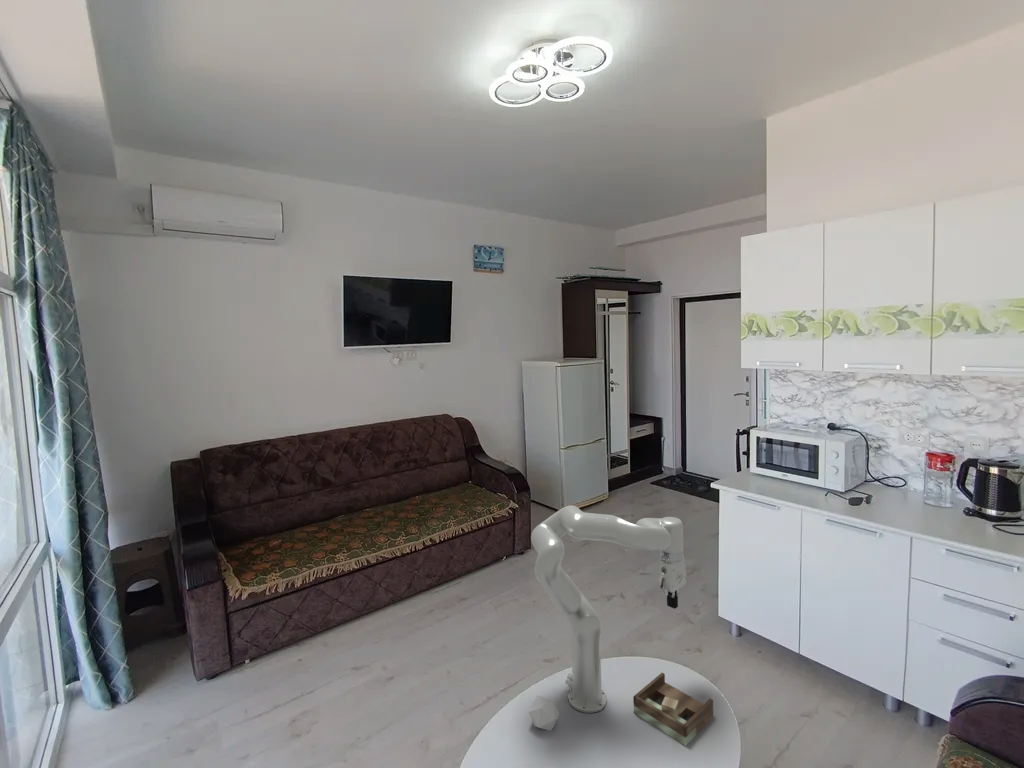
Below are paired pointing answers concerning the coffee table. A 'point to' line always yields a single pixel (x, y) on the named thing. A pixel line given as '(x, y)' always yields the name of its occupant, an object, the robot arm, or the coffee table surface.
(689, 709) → the box
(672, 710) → the maple block
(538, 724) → the die
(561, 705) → the coffee table surface
